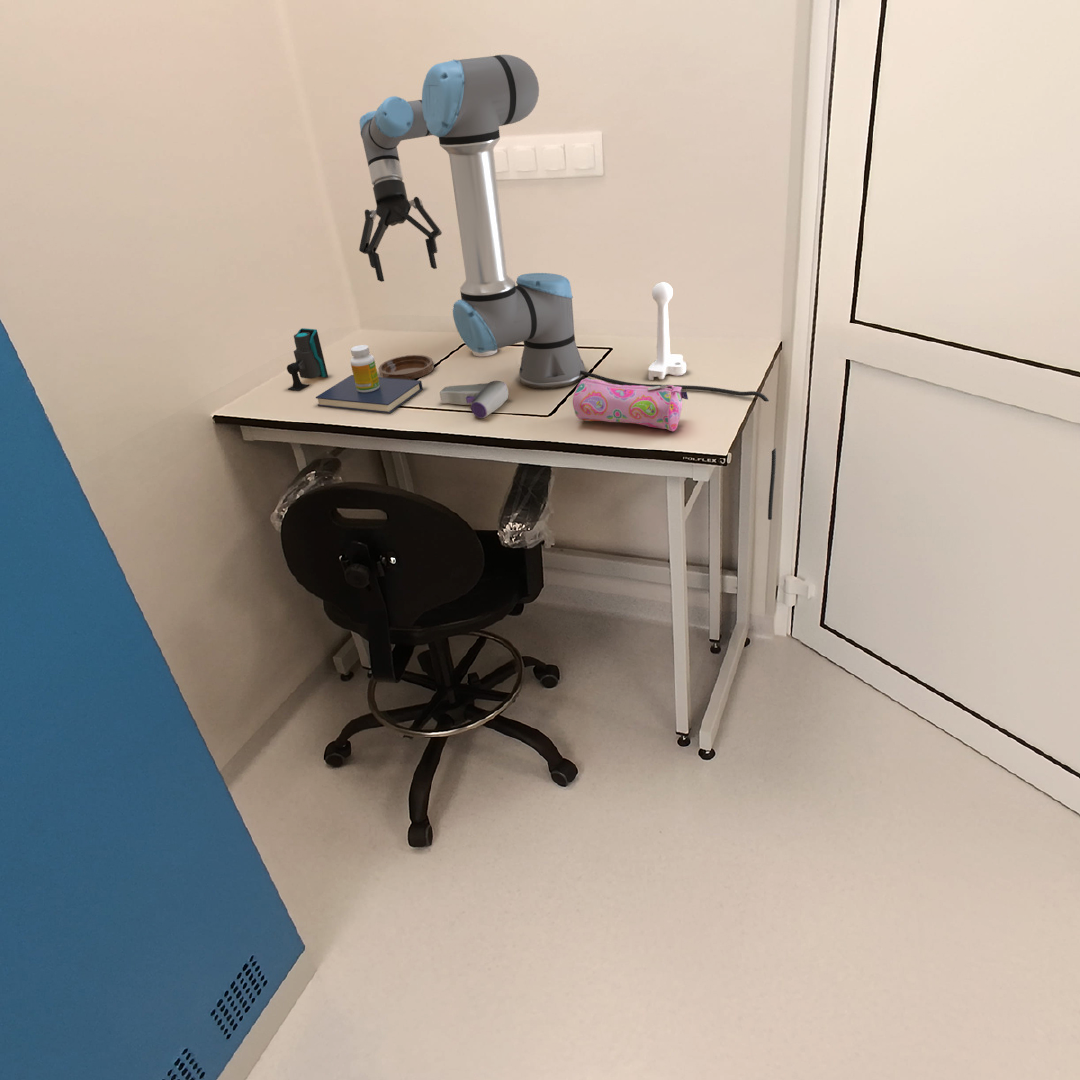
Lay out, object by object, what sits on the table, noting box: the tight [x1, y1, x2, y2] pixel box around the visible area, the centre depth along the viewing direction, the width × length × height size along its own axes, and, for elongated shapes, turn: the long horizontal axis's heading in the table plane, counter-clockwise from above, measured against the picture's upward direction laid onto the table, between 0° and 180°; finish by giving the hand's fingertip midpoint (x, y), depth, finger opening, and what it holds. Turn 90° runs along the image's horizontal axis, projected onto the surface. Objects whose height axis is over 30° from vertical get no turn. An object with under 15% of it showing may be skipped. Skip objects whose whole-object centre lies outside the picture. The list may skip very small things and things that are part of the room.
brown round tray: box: [377, 354, 435, 380], centre depth 198 cm, size 13×13×2 cm
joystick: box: [647, 281, 687, 381], centre depth 176 cm, size 11×8×20 cm
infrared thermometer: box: [439, 380, 509, 419], centre depth 174 cm, size 5×12×15 cm
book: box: [315, 374, 424, 414], centre depth 185 cm, size 20×14×2 cm
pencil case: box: [572, 377, 689, 432], centre depth 158 cm, size 21×9×9 cm, turn 64°
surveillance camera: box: [286, 327, 329, 392], centre depth 195 cm, size 6×12×10 cm
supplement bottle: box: [350, 344, 380, 393], centre depth 182 cm, size 5×5×10 cm
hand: (407, 274), depth 194 cm, fingers open, 13 cm apart
